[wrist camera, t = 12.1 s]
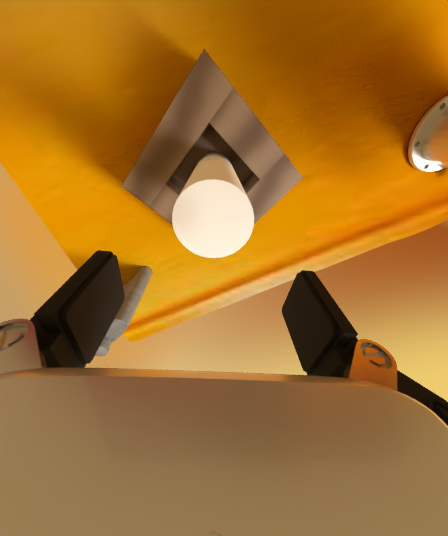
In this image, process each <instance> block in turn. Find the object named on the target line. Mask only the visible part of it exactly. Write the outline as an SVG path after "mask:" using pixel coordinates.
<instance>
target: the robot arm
mask: <svg viewBox="0 0 448 536" xmlns="http://www.w3.org/2000/svg"><path fill="white" fill-rule="evenodd" d="M408 158H409V162H410V163H411V165H412V166H413V167H414V168H415V169H417V170H420V171H425V172H433V171H438V170H441V169H444V168H448V95H446V96H445V97H443V98H442V99H440V100H439V101H438V102H437V103H435V104H434V105H433V106H432V107H431V108H430V109H429V110H428V111H427V112H426V114H425V115H424V116H423V117H422V119H421V120H420V122H419V123H418V125H417V126H416V128H415V130H414V132H413V134H412V136H411V139H410V142H409V147H408ZM124 299H125V295H124V290H123V285H122V280H121V275H120V270H119V265H118V260H117V256H116V255H113V253H112V252H110V251H100V250H99V251H96V252H95V253H94V254H93V255H92V256H91V257H90V258H89V259H88V260H87V261H86V262H85V263H84V264H83V265H82V266H81V267H80V268H79V269H78V270H77V272H75V273H74V274H73V275H72V276H71V277H70V278H69V279H68V281H66V282H65V284H63V286H61V287H60V288H59V290H57V291H56V292H55V293H54V294H53V295H52V296H51V297H50V298H49V299H48V300H47V301H46V302H45V303H44V304H43V305H42V306H41V307H40V308H39V309H38V310H37V312H35V315H34V316H33V317H32V318H31V320H28V319H12V320H8V321H4V322H2V323H0V536H448V402H447V401H446V400H444V399H443V398H441V397H439V396H438V395H436V394H434V393H433V392H431V391H430V390H428V389H427V388H425V387H423V386H422V385H420V384H419V383H417V382H415V381H414V380H412V379H411V378H409V377H407V376H406V375H404V374H403V373H401V372H399V371H398V370H397V365H396V361H395V360H394V358H393V356H392V355H391V354H390V353H389V352H388V351H387V350H386V349H385V348H383V347H382V346H381V345H379V344H377V343H376V342H373V341H371V340H367V339H361V340H359V341H358V339H357V338H356V336H357V335H358V333H357V332H356V331H355V329H354V328H353V326H352V325H351V324H350V322H349V321H348V319H347V318H346V316H345V315H344V314H343V312H342V311H341V309H340V308H339V307H338V305H337V304H336V302H335V301H334V299H333V298H332V297H331V295H330V294H329V293H328V291H327V290H326V288H325V287H324V285H323V284H322V282H321V281H320V280H319V278H318V277H317V275H316V274H315V273H314V272H313V271H304V270H303V271H301V272H300V273H298V274H297V275H296V278H295V280H294V282H293V285H292V287H291V289H290V291H289V293H288V296H287V298H286V300H285V303H284V305H283V307H282V314H283V317H284V319H285V322H286V325H287V328H288V330H289V333H290V336H291V339H292V341H293V344H294V347H295V349H296V352H297V355H298V357H299V360H300V363H301V366H302V368H303V370H304V371H305V372H307V375H284V374H262V373H261V374H260V373H236V372H210V371H182V370H150V369H149V370H148V369H118V368H84V367H85V365H86V364H87V363H90V362H91V361H92V359H93V358H94V356H95V354H96V352H97V350H98V348H99V347H100V345H101V343H102V341H103V339H104V337H105V336H106V334H107V332H108V330H109V328H110V326H111V324H112V323H113V321H114V319H115V317H116V315H117V313H118V312H119V310H120V308H121V306H122V304H123V302H124Z"/></svg>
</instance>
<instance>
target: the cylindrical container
mask: <svg viewBox="0 0 448 536" xmlns="http://www.w3.org/2000/svg"><path fill="white" fill-rule="evenodd" d="M172 223H173V228H174V231H175V233H176V236H177V237H178V239H179V240H180V242H181V243H182V244H183V245H184V246H185V247H186V248H187V249H188V250H190V251H191V252H193V253H195V254H197V255H199V256H203V257H208V258H220V257H225V256H228V255H230V254H233V253H235V252H236V251H238V250H239V249H240V248H241V247H242V246H244V245H245V243H246V242H247V241H248V239H249V238H250V235H251V233H252V231H253V227H254V212H253V208H252V206H251V203H250V201H249V199H248V197H247V195H246V193H245V191H244V189H243V187H242V185H241V183H240V181H239V179H238V177H237V175H236V173H235V170H234V168H233V166H232V164H231V162H230V161H229V159H228V158H227V157H226V156H224V155H223V154H221V153H218V152H211V153H207V154H206V155H204V156H203V157H202V158H201V159H200V160H199V162H198V164H197V165H196V167H195V169H194V171H193V172H192V174H191V176H190V178H189V179H188V181H187V183H186V185H185V186H184V188H183V190H182V191H181V193H180V195H179V197H178V198H177V200H176V203H175V205H174V208H173V213H172Z"/></svg>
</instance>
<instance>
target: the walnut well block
mask: <svg viewBox="0 0 448 536" xmlns="http://www.w3.org/2000/svg"><path fill="white" fill-rule="evenodd" d="M211 152H218V153H221V154H223V155H224V156H226V157H227V158H228V159H229V161H230V162H231V164H232V166H233V168H234V170H235V173H236V175H237V177H238V179H239V181H240V183H241V185H242V187H243V189H244V191H245V193H246V195H247V197H248V199H249V201H250V203H251V206H252V208H253V212H254V224H255V223H256V222H257V221H258V220H259V219H260V218H261V217H262V216H263V215H264V214H265V213H266V212H267V211H268V210H269V209H270V208H271V207H273V206H274V205H275V204H276V203H277V202H278V201H279V200H280V199H281V198H282V197H283V196H284V195H285V194H286V193H287V192H288V191H289V190H290V189H292V188H293V187H294V186H295V185H296V184H297V183H298V182H299V181H300V180H301V179H302V178H303V177H302V176H301V174H300V173H299V172H298V171H297V169H296V168H295V167H294V165H293V164H292V163H291V161H290V160H289V159H288V157H287V156H286V155H285V154H284V152H283V151H282V150H281V148H280V147H279V146H278V144H277V143H276V142H275V141H274V139H273V138H272V137H271V135H270V134H269V133H268V131H267V130H266V129H265V128H264V126H263V125H262V124H261V122H260V121H259V120H258V118H257V117H256V116H255V114H254V113H253V112H252V111H251V109H250V108H249V107H248V105H247V104H246V103H245V101H244V100H243V99H242V98H241V96H240V95H239V94H238V92H237V91H236V90H235V88H234V87H233V86H232V85H231V83H230V82H229V81H228V79H227V78H226V77H225V75H224V74H223V73H222V72H221V70H220V69H219V68H218V66H217V65H216V64H215V62H214V61H213V60H212V58H211V57H210V56H209V55H208V53H207V52H206V51H205V49H204V50H203V52H202V53H201V55H200V57H199V58H198V60H197V62H196V63H195V65H194V67H193V68H192V70H191V72H190V73H189V75H188V77H187V78H186V80H185V82H184V83H183V85H182V87H181V88H180V90H179V92H178V93H177V95H176V97H175V98H174V100H173V102H172V103H171V105H170V107H169V108H168V110H167V111H166V113H165V115H164V116H163V118H162V120H161V121H160V123H159V125H158V126H157V128H156V130H155V131H154V133H153V135H152V136H151V138H150V140H149V141H148V143H147V145H146V146H145V148H144V150H143V151H142V153H141V155H140V156H139V158H138V160H137V161H136V163H135V165H134V166H133V168H132V170H131V171H130V173H129V175H128V176H127V178H126V179H125V181H124V183H123V184H122V187H124V188H125V189H126V190H128V191H129V192H130V193H132V194H133V195H134V196H136V197H137V198H138V199H140V200H141V201H142V202H143V203H145V204H146V205H147V206H149V207H150V208H151V209H153V210H154V211H155V212H157V213H158V214H159V215H161V216H162V217H163V218H165V219H166V220H167V221H169V222H170V223H171V224H173V223H172V213H173V208H174V205H175V203H176V200H177V198H178V197H179V195H180V193H181V191H182V190H183V188H184V186H185V185H186V183H187V181H188V179H189V178H190V176H191V174H192V172H193V171H194V169H195V167H196V165H197V164H198V162H199V160H200V159H201V158H202V157H203V156H204V155H206V154H207V153H211Z"/></svg>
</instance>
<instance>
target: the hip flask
mask: <svg viewBox="0 0 448 536" xmlns="http://www.w3.org/2000/svg"><path fill="white" fill-rule="evenodd" d="M151 274H152V270H151V269H150V268H149V267H147V266H143V267H141V268H140V269H139V271H138V272H137V273H136V274H135V276H134V277H133V278H132V279H131V280H129V281H128V282H127V283H126V284H124V285H123V290H124V295H125V299H124V302H123V304H122V306H121V308H120V310H119V312H118V313H117V315H116V317H115V319H114V321H113V323H112V324H111V326H110V328H109V330H108V332H107V334H106V336H105V337H104V339H103V341H102V343H101V345H100V347H99V348H98V350H97V352H96V354H95V356H105V355H106V354H107V353H108V351H109V346H110V345H111V343H112V342H113V341H115V340H116V339H117V338H118V337H120V335H122V334H123V333H124V331H125V330H126V329H127V328H128V325H129V323H130V321H131V319H132V317H133V314H134V312H135V310H136V308H137V305H138V303H139V301H140V299H141V297H142V294H143V292H144V290H145V288H146V285H147V283H148V281H149V279H150V276H151Z"/></svg>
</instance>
